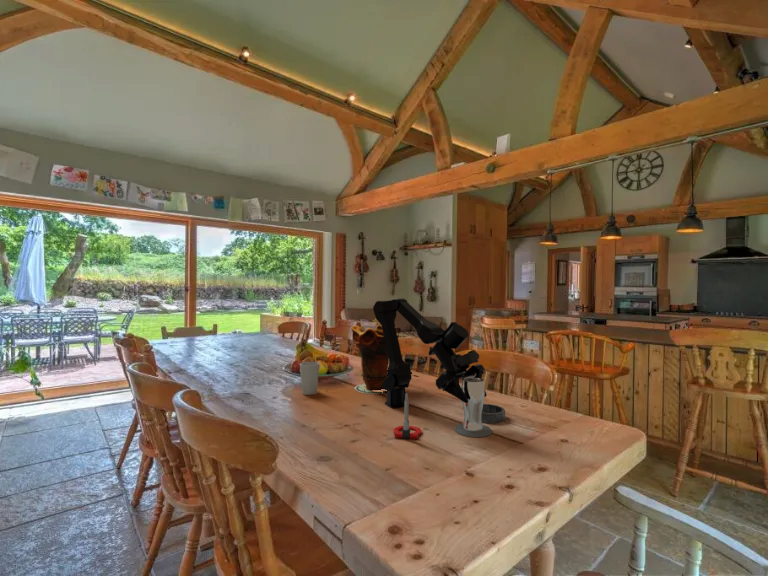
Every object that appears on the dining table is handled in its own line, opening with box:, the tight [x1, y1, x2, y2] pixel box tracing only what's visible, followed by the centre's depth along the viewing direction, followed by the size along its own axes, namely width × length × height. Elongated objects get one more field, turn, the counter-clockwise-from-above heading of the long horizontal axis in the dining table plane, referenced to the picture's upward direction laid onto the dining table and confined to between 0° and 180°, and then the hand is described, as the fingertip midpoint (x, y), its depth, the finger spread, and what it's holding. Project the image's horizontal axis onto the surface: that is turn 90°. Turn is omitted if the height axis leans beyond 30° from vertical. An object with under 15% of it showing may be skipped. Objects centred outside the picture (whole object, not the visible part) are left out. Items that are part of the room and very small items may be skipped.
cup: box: [299, 361, 320, 396], centre depth 161 cm, size 8×8×12 cm
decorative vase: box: [350, 324, 402, 395], centre depth 168 cm, size 21×23×28 cm
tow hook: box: [393, 392, 423, 440], centre depth 116 cm, size 8×13×9 cm
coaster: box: [454, 422, 493, 439], centre depth 118 cm, size 11×11×1 cm
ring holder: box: [482, 403, 506, 424], centre depth 130 cm, size 11×11×3 cm
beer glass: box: [460, 377, 485, 432], centre depth 118 cm, size 7×7×15 cm
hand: (476, 399), depth 117 cm, fingers open, 9 cm apart
